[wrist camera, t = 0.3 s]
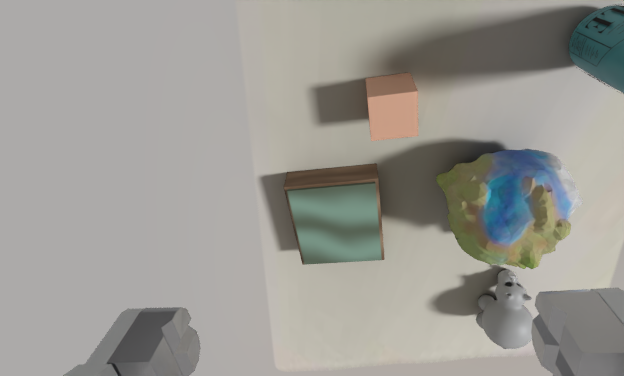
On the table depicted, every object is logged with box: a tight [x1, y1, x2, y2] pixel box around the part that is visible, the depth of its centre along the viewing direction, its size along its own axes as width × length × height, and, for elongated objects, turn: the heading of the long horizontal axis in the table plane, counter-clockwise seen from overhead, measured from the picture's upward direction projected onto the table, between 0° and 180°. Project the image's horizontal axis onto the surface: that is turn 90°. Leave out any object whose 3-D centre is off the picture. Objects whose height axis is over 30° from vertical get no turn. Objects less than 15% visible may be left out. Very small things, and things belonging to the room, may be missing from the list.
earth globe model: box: [436, 149, 583, 269], centre depth 45 cm, size 14×16×15 cm
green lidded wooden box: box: [284, 164, 384, 264], centre depth 53 cm, size 14×12×4 cm
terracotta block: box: [366, 73, 418, 141], centre depth 42 cm, size 5×5×6 cm
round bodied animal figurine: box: [476, 270, 533, 349], centre depth 58 cm, size 7×12×8 cm, turn 179°
